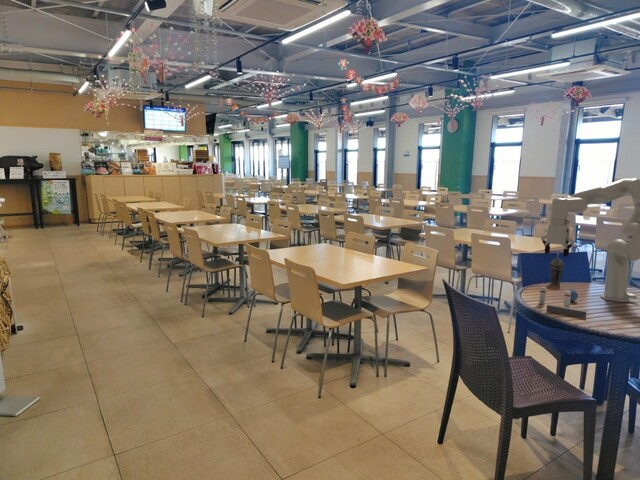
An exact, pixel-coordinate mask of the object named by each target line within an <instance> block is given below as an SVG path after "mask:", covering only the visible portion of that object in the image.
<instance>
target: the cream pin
mask: <svg viewBox="0 0 640 480" xmlns="http://www.w3.org/2000/svg"><path fill="white" fill-rule="evenodd" d="M570 298H571V291H567V290H565V293H564V301H563V307H566V308H571V301H570Z"/></svg>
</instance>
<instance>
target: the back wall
mask: <svg viewBox="0 0 640 480" xmlns="http://www.w3.org/2000/svg"><path fill="white" fill-rule="evenodd" d="M587 311H588V310H583V309H578V308H571V307H570V308H566V307H564V306H558V305H554V304H547V305H546V313H554V314H559V315H564V316H570V317H571V316H572V317H575V318H582V319H586V318H587Z"/></svg>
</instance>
